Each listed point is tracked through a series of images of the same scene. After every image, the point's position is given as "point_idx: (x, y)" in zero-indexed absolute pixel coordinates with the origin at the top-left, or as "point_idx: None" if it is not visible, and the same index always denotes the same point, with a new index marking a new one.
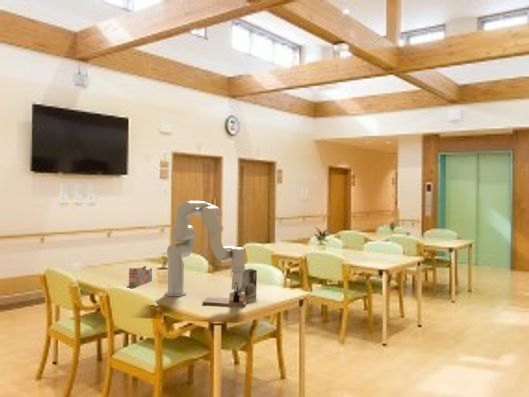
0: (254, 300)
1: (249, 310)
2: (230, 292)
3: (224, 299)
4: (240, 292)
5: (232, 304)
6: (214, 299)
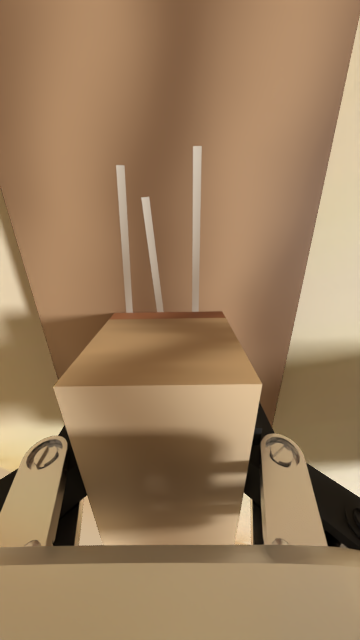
0: (312, 459)
1: (10, 463)
2: (129, 393)
3: (236, 221)
4: (185, 518)
5: (57, 353)
6: (214, 5)
